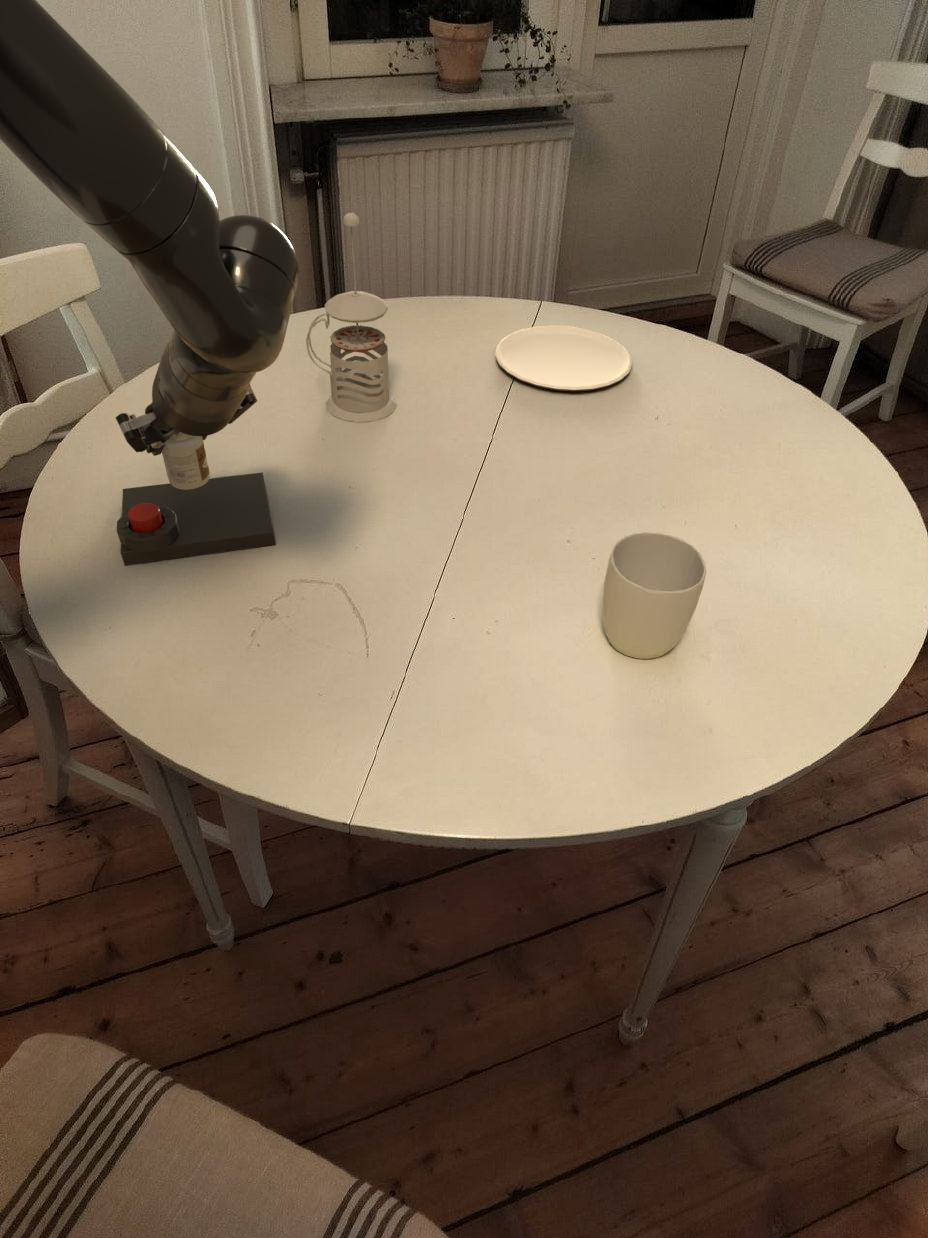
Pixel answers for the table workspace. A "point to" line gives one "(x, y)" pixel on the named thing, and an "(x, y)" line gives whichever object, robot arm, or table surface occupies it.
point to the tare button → (145, 518)
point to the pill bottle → (186, 462)
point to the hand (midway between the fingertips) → (175, 439)
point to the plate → (563, 358)
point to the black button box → (198, 519)
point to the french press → (357, 391)
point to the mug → (650, 593)
